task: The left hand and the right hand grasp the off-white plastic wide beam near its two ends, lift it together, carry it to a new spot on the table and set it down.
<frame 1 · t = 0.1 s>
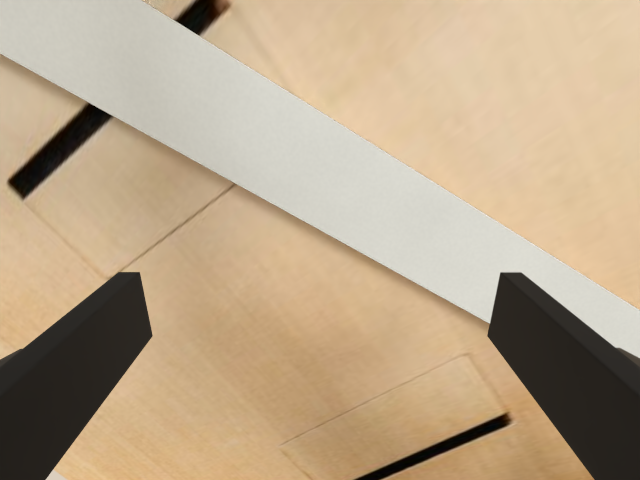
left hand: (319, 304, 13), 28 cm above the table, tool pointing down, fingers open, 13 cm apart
wide beam: (357, 185, 39), on the table
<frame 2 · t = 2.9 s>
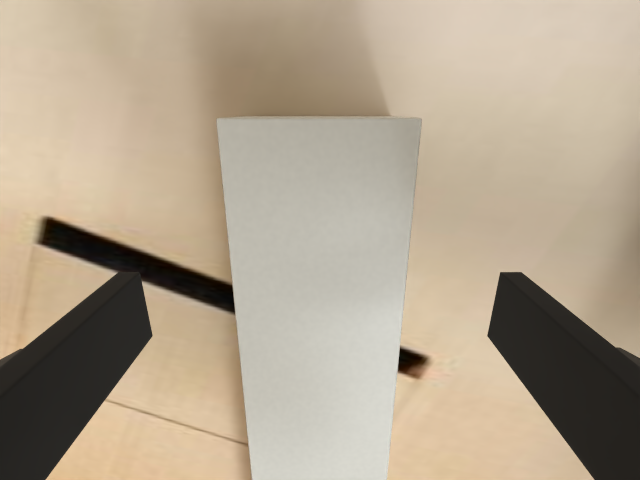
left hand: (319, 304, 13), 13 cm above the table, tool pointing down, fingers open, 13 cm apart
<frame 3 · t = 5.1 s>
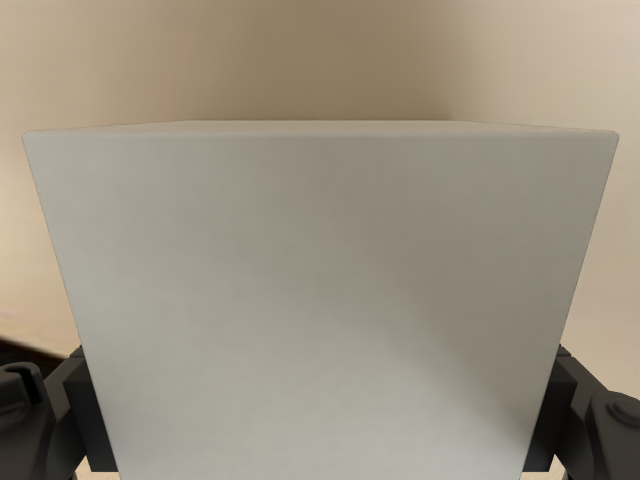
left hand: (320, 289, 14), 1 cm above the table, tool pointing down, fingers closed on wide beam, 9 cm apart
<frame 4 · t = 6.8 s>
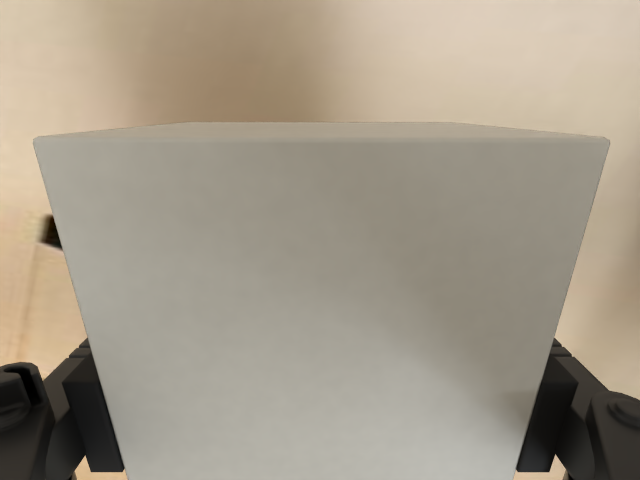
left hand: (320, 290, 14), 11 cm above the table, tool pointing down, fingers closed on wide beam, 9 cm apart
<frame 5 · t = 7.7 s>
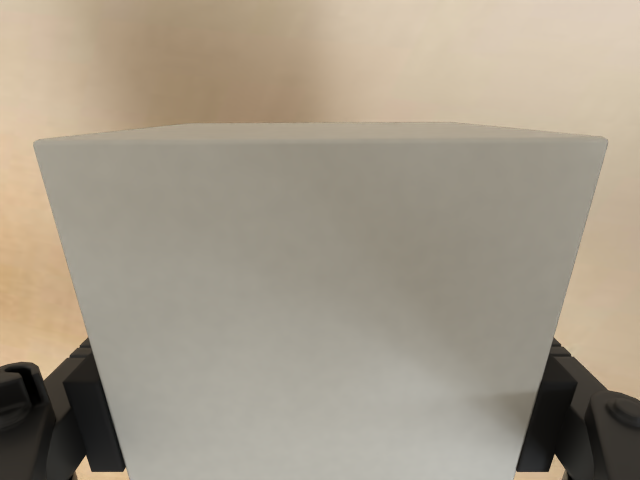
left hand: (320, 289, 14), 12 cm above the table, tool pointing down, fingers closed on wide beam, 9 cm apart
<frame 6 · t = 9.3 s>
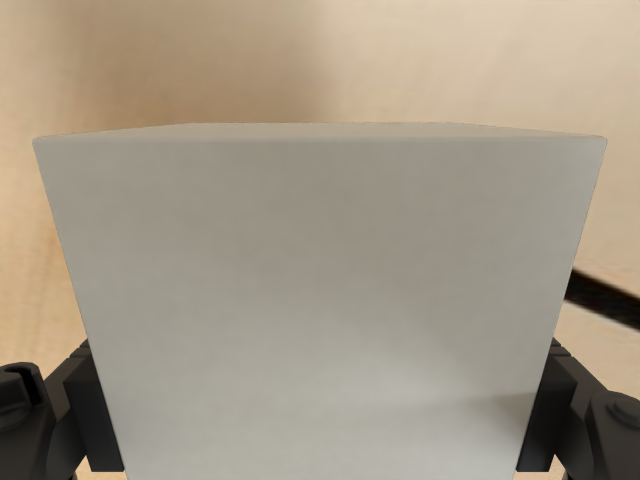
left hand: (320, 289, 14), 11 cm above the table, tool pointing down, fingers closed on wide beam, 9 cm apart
when the left hand's fingers open (2 cm above the table, at t = 10.6 s): wide beam drops 1 cm, on the table.
when the right hand's fingers open (2 cm above the table, at t = 10.6 s): wide beam drops 1 cm, on the table.
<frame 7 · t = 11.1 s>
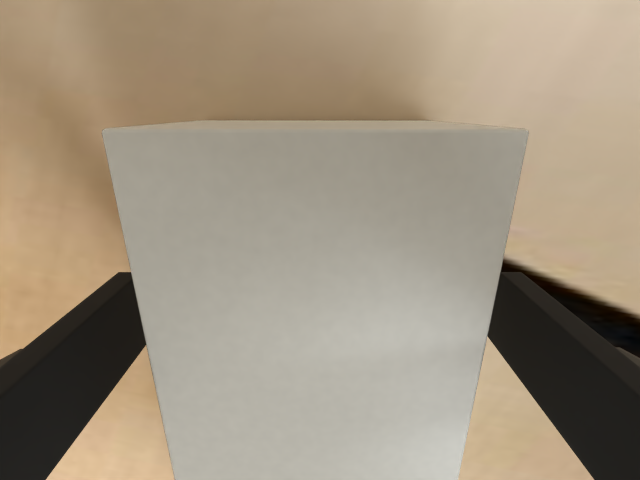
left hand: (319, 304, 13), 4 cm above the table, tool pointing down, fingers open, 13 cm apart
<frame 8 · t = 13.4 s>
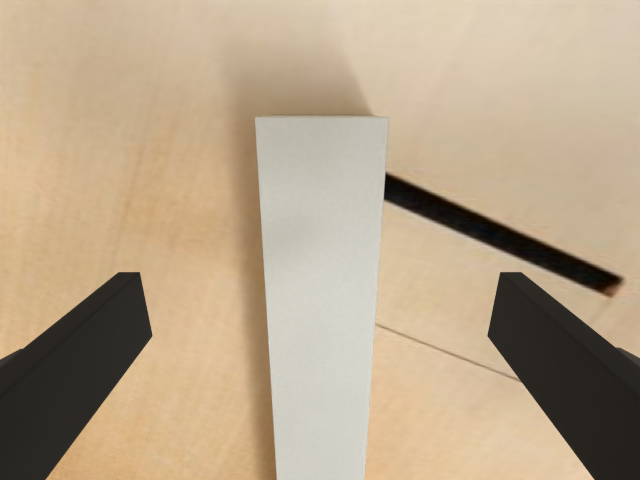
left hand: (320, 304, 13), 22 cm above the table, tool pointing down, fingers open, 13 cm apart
wide beam: (320, 451, 45), on the table
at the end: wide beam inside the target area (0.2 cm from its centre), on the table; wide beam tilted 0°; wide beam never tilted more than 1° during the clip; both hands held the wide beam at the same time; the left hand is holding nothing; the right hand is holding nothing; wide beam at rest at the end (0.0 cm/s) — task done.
